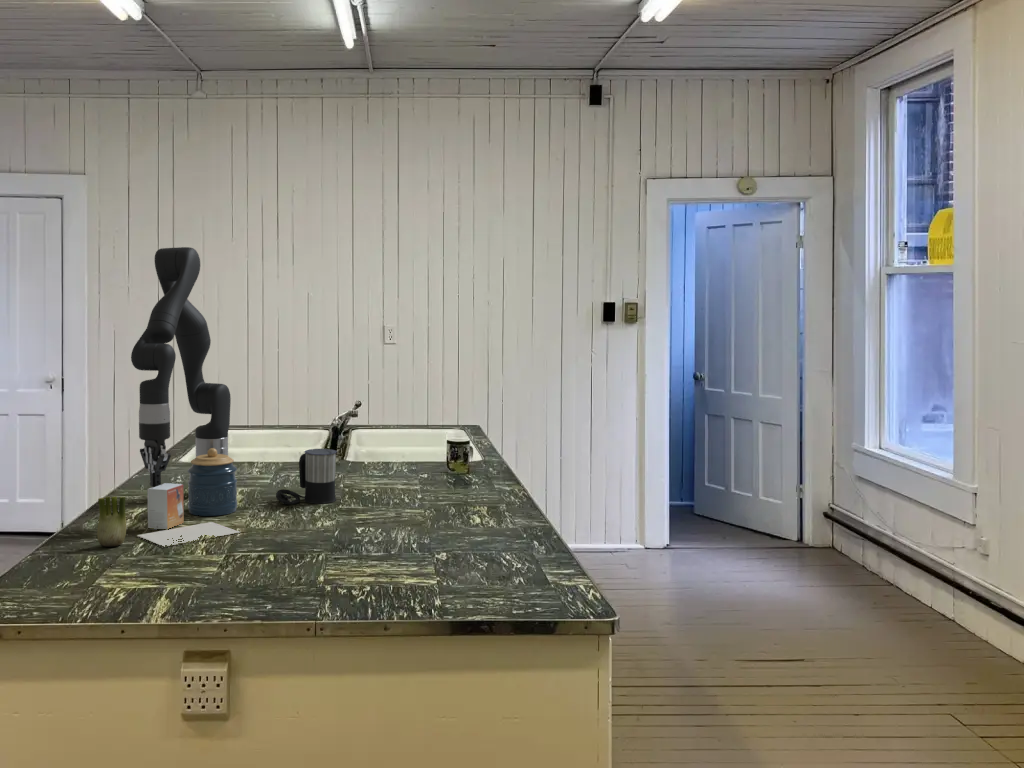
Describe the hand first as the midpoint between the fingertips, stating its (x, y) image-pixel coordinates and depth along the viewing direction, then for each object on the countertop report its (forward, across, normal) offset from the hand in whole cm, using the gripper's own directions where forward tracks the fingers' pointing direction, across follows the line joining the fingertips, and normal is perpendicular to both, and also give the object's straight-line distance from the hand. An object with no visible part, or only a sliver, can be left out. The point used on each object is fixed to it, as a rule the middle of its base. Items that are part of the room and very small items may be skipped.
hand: (155, 486), depth 240 cm
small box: (+10, -5, 0) cm, 11 cm away
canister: (+10, +2, -17) cm, 20 cm away
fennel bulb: (+10, -14, +18) cm, 25 cm away
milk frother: (+10, -5, -43) cm, 44 cm away
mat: (+10, -17, 0) cm, 20 cm away
